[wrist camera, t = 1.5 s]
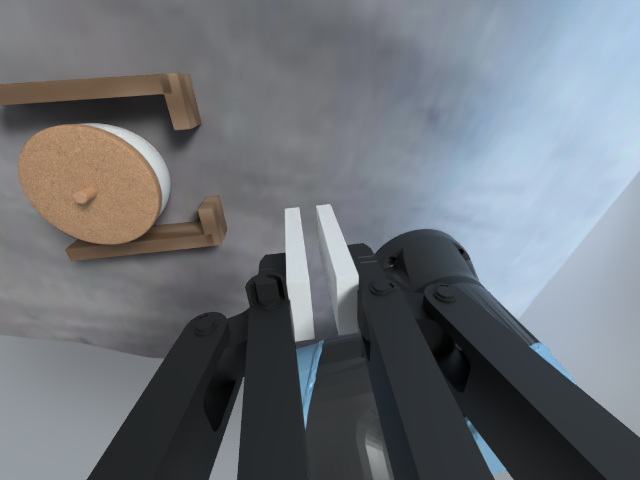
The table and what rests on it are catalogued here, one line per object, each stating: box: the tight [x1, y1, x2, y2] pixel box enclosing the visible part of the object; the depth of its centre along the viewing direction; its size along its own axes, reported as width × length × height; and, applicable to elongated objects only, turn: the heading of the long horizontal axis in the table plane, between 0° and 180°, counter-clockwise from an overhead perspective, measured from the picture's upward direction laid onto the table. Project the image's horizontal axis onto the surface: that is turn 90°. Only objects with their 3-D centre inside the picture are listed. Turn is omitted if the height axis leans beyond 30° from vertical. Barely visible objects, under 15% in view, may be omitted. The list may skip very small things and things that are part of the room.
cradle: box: [0, 73, 227, 261], centre depth 30 cm, size 17×16×4 cm
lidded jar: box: [18, 123, 171, 245], centre depth 27 cm, size 11×11×9 cm
